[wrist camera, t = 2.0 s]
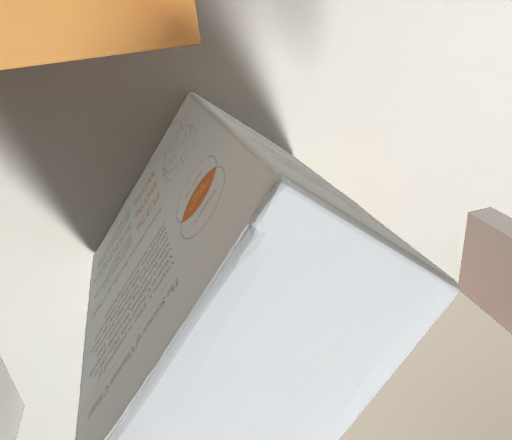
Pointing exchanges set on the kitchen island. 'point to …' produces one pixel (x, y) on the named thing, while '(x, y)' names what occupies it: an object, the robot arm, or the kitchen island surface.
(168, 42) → the lid
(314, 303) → the small box
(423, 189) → the kitchen island surface
